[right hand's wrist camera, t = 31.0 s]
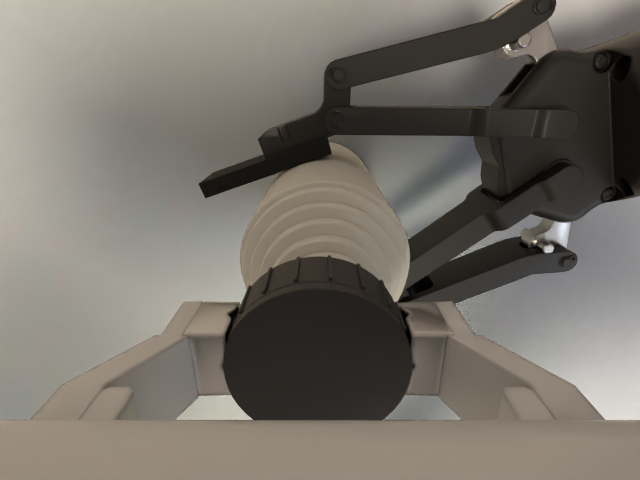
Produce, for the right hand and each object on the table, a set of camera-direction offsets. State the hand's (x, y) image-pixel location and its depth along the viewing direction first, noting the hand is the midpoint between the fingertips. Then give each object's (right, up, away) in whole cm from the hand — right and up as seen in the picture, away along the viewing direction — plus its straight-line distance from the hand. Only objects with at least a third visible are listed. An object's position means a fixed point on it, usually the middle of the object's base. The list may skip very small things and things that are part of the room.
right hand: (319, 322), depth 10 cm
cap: (0, -1, -2) cm, 2 cm away
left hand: (-4, +2, +10) cm, 11 cm away
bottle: (0, +6, +15) cm, 16 cm away
